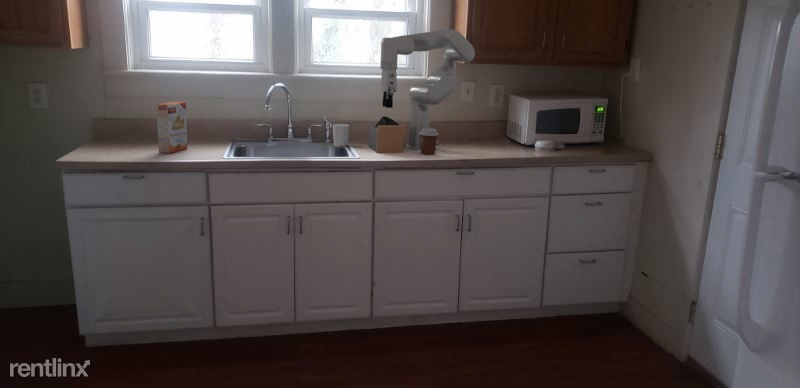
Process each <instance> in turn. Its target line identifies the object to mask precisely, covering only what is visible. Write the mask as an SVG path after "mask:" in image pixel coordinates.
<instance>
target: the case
mask: <svg viewBox="0 0 800 388" xmlns="http://www.w3.org/2000/svg"><path fill="white" fill-rule="evenodd" d="M368 129H369V130H368V148H369V149H371V150H372V151H374V152H375V153H376V145H377V130H378V127H375V126H370V127H369V128H368Z"/></svg>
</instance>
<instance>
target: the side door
mask: <svg viewBox="0 0 800 388" xmlns="http://www.w3.org/2000/svg"><path fill="white" fill-rule="evenodd" d="M405 130H406V126H405V125H404V124H403V125H400V124H399V125H385V126H378V130H377V145H376V152H375V153H376V154H388V153H389V154H390V153H391V154H394V153H398V154H399V153H404V143H405V142H404V141H405Z"/></svg>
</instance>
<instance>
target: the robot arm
mask: <svg viewBox="0 0 800 388" xmlns="http://www.w3.org/2000/svg"><path fill="white" fill-rule="evenodd" d="M439 49H443V55H442V58H443V59H442V64H440V65H439V66H438V67H437V68H436V69H434V71H432V72H431V73H429V74H428V76H426V79H425V82H416V83H413V84H412V85H411V86H410V88H409V91H408V96H409V103H410V104H409V105H410V107H409V108H410V110H409V112H410V113H409V115H410V116H409V136H408V139H409V140H408V144H406V145H405V148H406V149H408V150H411V151H412V150H413V151H421V139H420V135H419V132H421V129H423V128H430V119H431V110H430V107H429V105H431V106H435V105H438V104H440V103H442V102H443V101H444V100H445V99H447V98H448V97H449V96H450V95H452V93H454V91H455V90H456V88H457V85H458V78H457V76H456V74H457V63H470V62H471V61H473V59H475V55H476V54H475V53H476V52H475V51H476V50H475V49H474V46H473V45H472V43H470V42H469V40H468V39H467V38H466V37H465V36H464V35H463V34H462V33H461V32H460V31H458V30H456V29H438V30H437V29H436V30H432V31H426V32H418V33H413V34H405V35H398V36H393V37H382V38H381V41H380V70H381V77H380V78H381V79H380V80H381V81H380V88H381V91H382V107H385V108H386V109H393V107H394V105H393V103H394V94H395V93H396V92H397V88H398V84H397V83H398V78H397V77H398V76H397V71H398V57H399V56H398V55H401V56H408V55H411V54H413V53H414V52H421V53H422V52H429V51H434V50H439ZM438 145H439V141H438V140H437V142H436V146H438Z"/></svg>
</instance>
